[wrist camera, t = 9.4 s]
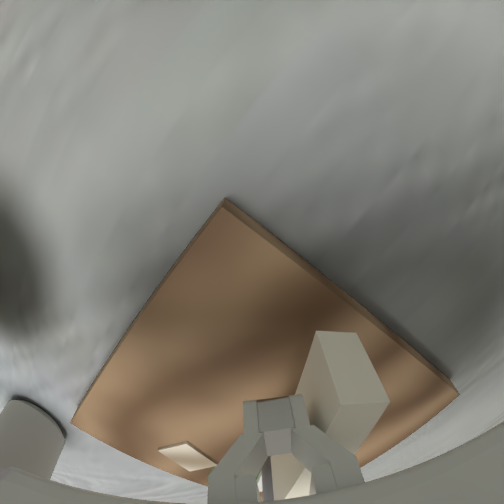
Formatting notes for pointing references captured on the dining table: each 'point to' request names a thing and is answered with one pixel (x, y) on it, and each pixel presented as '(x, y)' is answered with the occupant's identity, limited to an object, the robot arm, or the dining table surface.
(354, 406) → the cream lever
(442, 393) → the board
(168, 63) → the dining table surface
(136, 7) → the dining table surface
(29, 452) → the can
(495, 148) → the dining table surface
